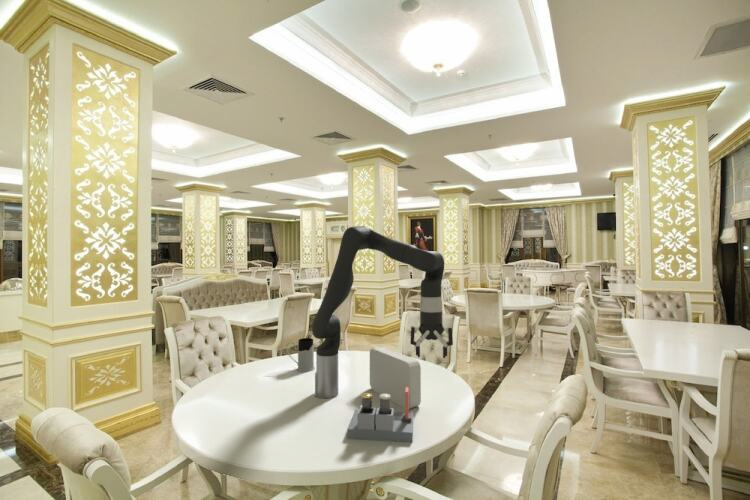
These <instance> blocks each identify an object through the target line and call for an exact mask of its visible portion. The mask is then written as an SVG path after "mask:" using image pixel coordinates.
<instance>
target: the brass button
mask: <svg viewBox="0 0 750 500" xmlns="http://www.w3.org/2000/svg"><path fill="white" fill-rule="evenodd" d="M361 405H362V412H365V413H369V412H371V411H372V408H373V393H372V392H371V393H370V392H365V393H361Z"/></svg>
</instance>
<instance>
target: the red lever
mask: <svg viewBox="0 0 750 500" xmlns="http://www.w3.org/2000/svg"><path fill="white" fill-rule="evenodd" d="M404 410H405V411H404V412H405V414H404V413H403V418H402V421H411V419H412V414H409V412H410V411H409V410H410V408H409V387H406V390H405V408H404Z"/></svg>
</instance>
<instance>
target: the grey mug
mask: <svg viewBox="0 0 750 500" xmlns="http://www.w3.org/2000/svg"><path fill="white" fill-rule="evenodd" d="M289 344H293V346H294V350H295V351H297V360H298V361H297V360H296V359H294V358H293V357H292V356H291V354H290V352H289V349H288V345H289ZM296 347H297V346H296V344H295V342H293V341H290V342H288V343H287V344H286V351H287V355H288V356H289V357H290V359H291V360H292V361H294V362H295V363H296V364H297V371H298V372H305V373H306V372H312V371H314V370H315V363H314V361H315V360H314V357H315V356H314V354H315V353H314V351H315V350H314V349H315V348H314V339H313V338H310V337H308V338H307V337H306V338H305V337H304V338H299V339H298V349H297V348H296Z"/></svg>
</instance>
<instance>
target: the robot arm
mask: <svg viewBox="0 0 750 500" xmlns="http://www.w3.org/2000/svg"><path fill="white" fill-rule="evenodd" d="M365 249H366V250H367V249H368V250H372V251H373V250H374V251H378V252H381V253H382V254H384V255H385V256H387V257H388V258H389V259H392V260H394V261H397V262H400V263H403V264H406V265H409V266H411V267H412V268H414V269H416V270H418V271H421V272H425V274H424V278H423V279H422V280H421V282H420V301H419V320H420V321H419V326H415V325H412V326H410V345H413V346H414V347H415V356H417V358H421V344H422V343H423V342H424V340H427V341H437V340H439V342H440V343H441V345H442V359H446V357H447V356H448V347H449V346H453V344H454V342H453V340H454V339H453V328H452V327H451V326H447V327H446V326H445V327H444V326H443V301H442V300H443V299H442V298H443V297H442V280H443V276H444V272H445V271H444V270H445V259H444V256H443V254H442V253H440V252H439V251H435V250H433V251H432V250H431V251H429V250H425V249H420V248H418V247H417V246H416V245H413V244H411V243H406V242H404V241H400V240H397V239H394V238H390V237H388V236H385V235H384V234H381V233H378V232H377V231H375V230H373V229H372V228H369V227H367V226H364V225H359V226H357V225H356V226H355V225H354V226H349V227H348V228H346V229H345V231H344V232H343V234H342V237H341V241H340V246H339V250H338V253H337V258H336V262H335V263H334V268H333V270H332V273H331V276H330V278H329V281H328V284H327V286H326V287H327V288H326V291H325V294H324V296H323V299H322V301H321V303H320V306H319V307H318V310H317V312H316V315H315V316H314V318H313V322H312V326H311V331H312V336H313V337H314V338H315V339H316V340H317V339H318V340H321V339H322V340H323V339H324V340H323V341H322V343H321V344H319V345H318V346H317V347H316V352H315V353H316V354H315V355H316V357H315V359H316V364H315V365H316V372H315V374H314V396H315V397H318V398H322V399H330V398H331V399H332V398H334V397H336V396H338V395H339V350H340V346H341V329H342V328H341V321H340V319H339V317H338V316H337V315H335V314H334V313H335V312H336V310H337V309H338V308H339V307H340V306H341V305H342V304H343V303H344V302H345V300H346V299H347V298H348V296H349V295H350V292H351V290H352V288H353V285H354V280H355V278H354V272H353V271H354V270H353V265H354V260H355V258H356V256H357V253H358V251H362V250H365ZM418 331H419V332H420V334H421V335H420V336H419V338H418V339H417V340H415V334H417V332H418ZM444 331H445V333H446V334H447V336H448V338H447V339H448V340H447V341H446V339H445V338H444V337H443V336H442V334H443V333H444Z"/></svg>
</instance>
